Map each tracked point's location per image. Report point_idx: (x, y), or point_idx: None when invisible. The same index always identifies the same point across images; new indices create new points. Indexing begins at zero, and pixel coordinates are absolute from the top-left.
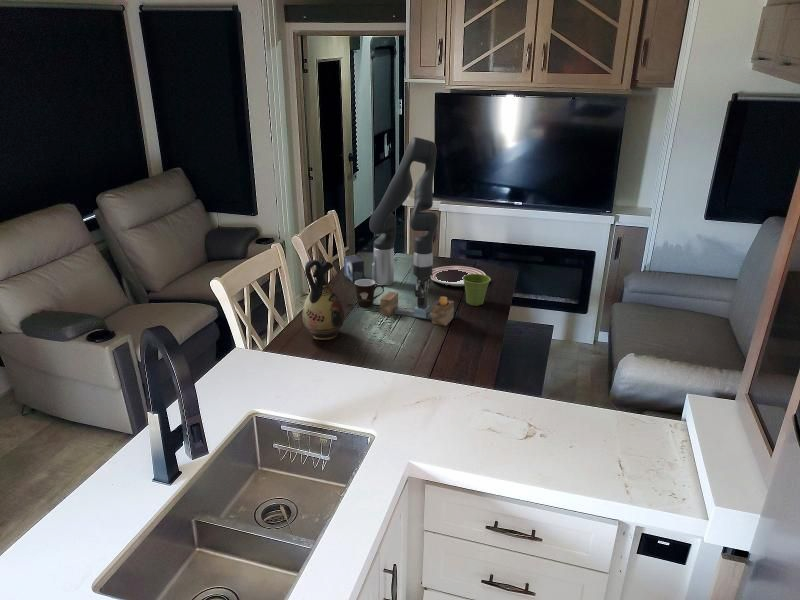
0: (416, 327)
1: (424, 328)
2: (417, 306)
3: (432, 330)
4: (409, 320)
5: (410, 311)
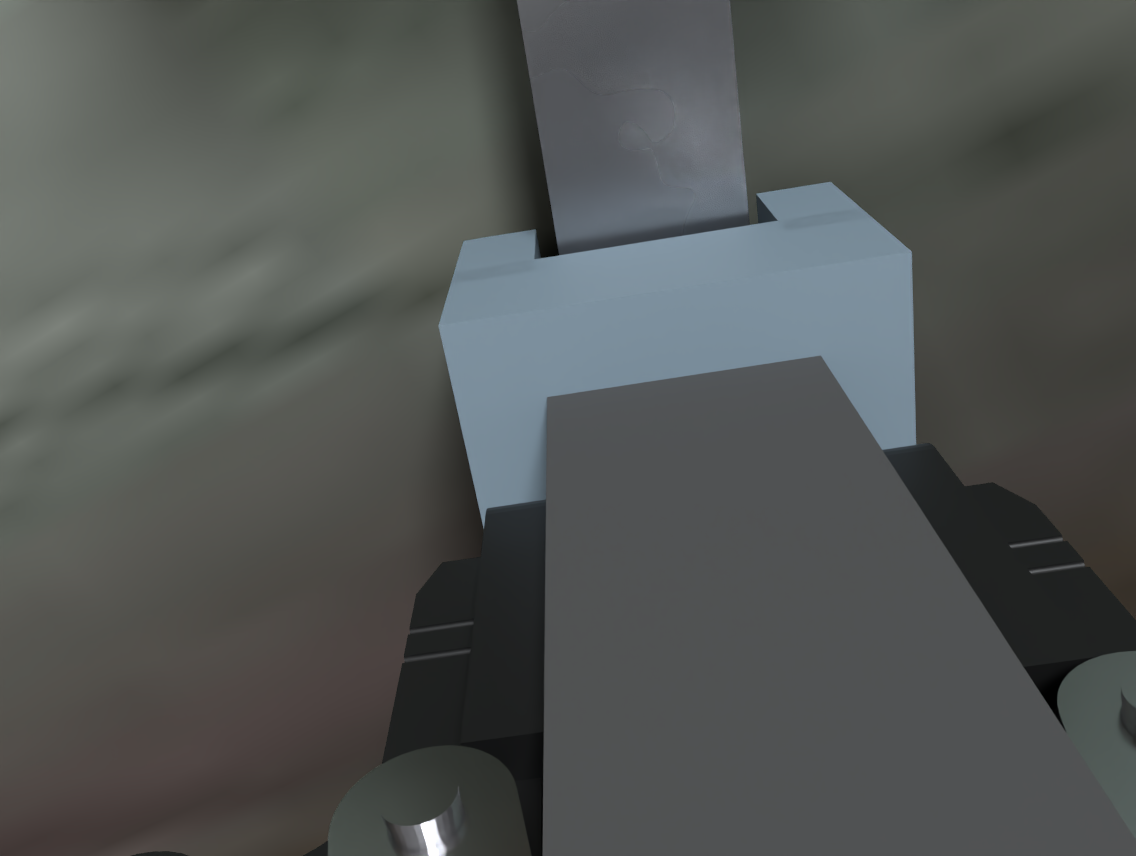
0: (42, 543)
1: (125, 694)
2: (550, 421)
3: (157, 842)
4: (271, 193)
5: (549, 70)
